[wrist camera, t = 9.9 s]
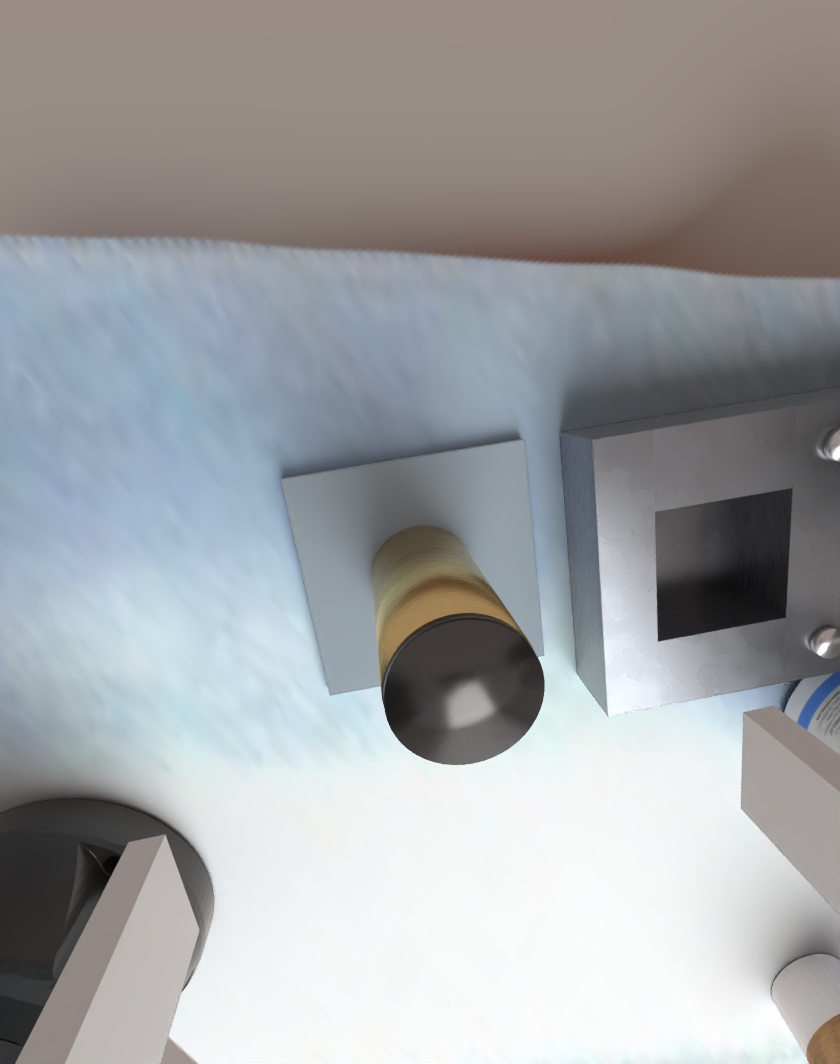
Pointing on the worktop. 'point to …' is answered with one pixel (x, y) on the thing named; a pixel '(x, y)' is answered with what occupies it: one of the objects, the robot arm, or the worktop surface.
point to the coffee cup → (812, 1005)
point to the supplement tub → (818, 708)
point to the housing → (705, 550)
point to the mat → (391, 506)
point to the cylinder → (449, 652)
